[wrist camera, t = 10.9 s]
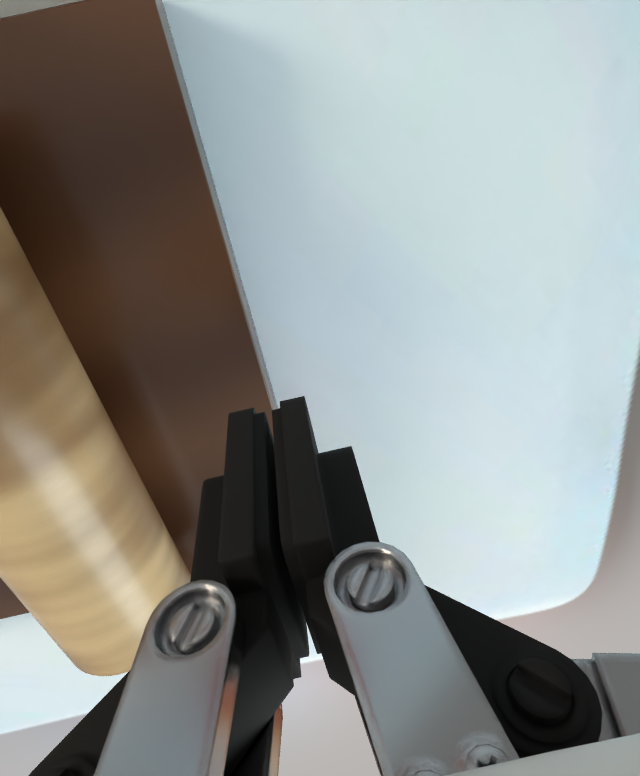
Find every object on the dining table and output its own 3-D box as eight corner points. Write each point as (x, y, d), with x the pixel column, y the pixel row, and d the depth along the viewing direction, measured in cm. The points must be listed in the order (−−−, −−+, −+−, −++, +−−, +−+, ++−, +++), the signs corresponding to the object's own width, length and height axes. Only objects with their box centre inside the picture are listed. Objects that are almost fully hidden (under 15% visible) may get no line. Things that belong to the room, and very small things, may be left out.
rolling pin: (-345, -53, 9) (-765, -160, 5) (-111, -103, 9) (-363, -243, 5) (124, 624, 21) (97, 742, 17) (225, 601, 21) (220, 712, 17)
